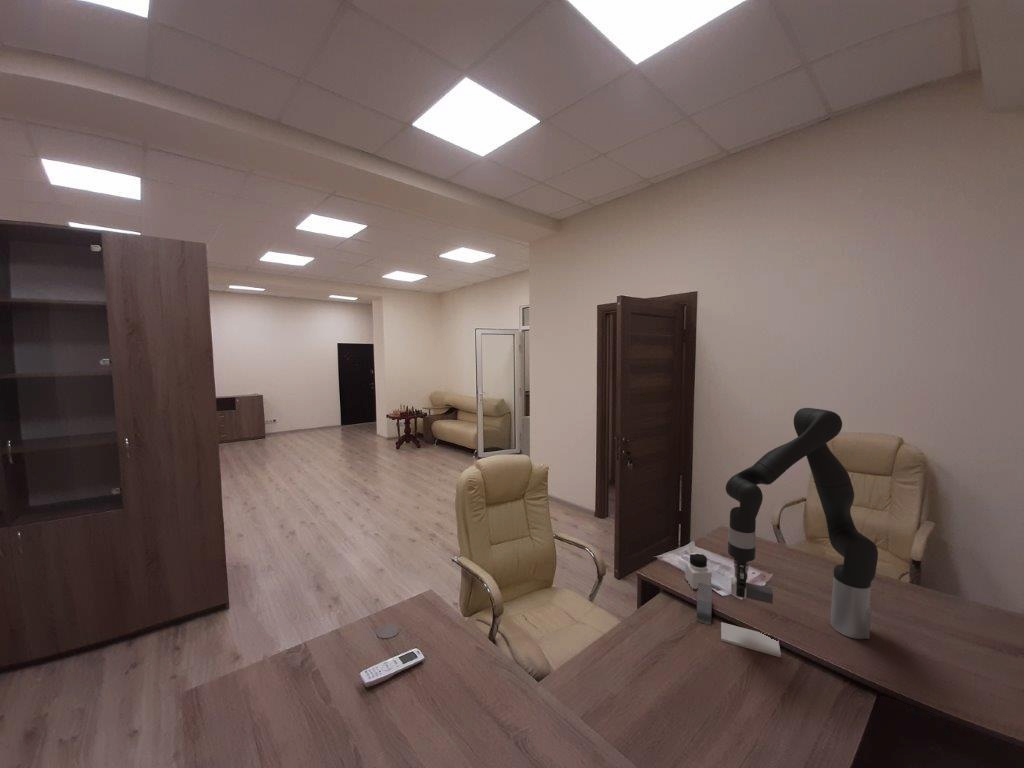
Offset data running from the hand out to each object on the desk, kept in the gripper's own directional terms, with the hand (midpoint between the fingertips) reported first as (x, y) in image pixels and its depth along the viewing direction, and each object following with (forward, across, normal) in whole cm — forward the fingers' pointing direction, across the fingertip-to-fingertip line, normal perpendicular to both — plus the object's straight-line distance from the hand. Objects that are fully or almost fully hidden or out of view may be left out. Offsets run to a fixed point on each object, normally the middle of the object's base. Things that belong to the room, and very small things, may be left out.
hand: (740, 591), depth 127 cm
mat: (+16, 0, -3) cm, 16 cm away
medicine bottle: (+16, +24, +13) cm, 32 cm away
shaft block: (+16, +10, +10) cm, 21 cm away
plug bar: (+1, 0, -3) cm, 3 cm away
